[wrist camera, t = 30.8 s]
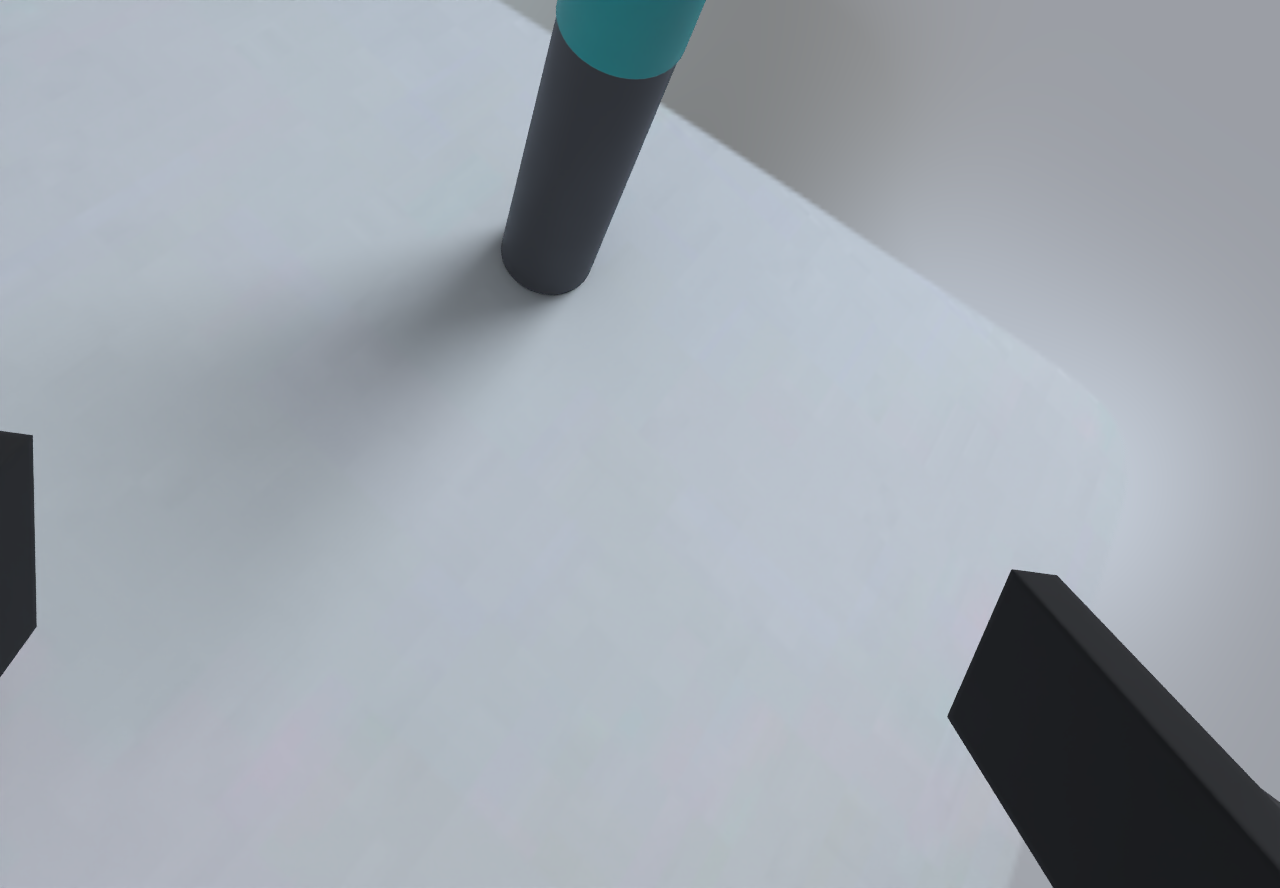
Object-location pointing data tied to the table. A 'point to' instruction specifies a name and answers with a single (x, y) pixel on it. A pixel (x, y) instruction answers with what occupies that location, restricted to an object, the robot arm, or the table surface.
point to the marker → (589, 131)
